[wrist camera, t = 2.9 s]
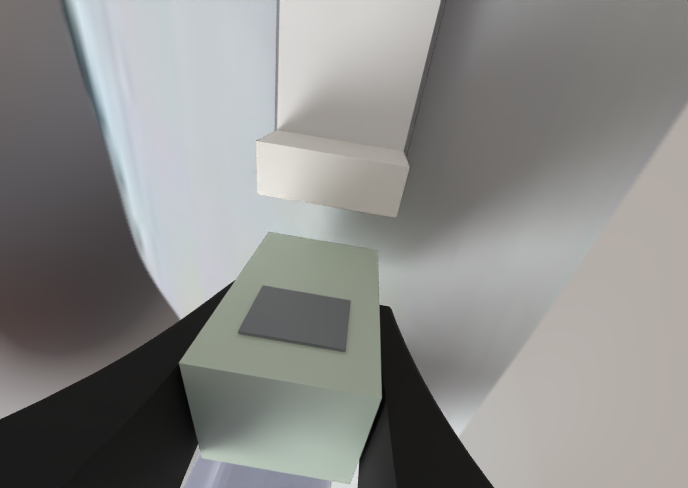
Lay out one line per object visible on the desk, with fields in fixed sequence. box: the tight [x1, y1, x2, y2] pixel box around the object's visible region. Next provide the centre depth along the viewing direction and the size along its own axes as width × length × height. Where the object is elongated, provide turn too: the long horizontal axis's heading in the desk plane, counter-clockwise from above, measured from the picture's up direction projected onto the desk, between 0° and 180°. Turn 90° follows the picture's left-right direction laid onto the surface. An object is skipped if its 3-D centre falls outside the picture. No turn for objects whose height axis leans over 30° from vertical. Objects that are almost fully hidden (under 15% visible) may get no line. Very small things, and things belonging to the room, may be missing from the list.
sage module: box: [179, 232, 382, 484], centre depth 9 cm, size 4×4×6 cm
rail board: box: [256, 0, 446, 218], centre depth 8 cm, size 9×5×3 cm, turn 172°
